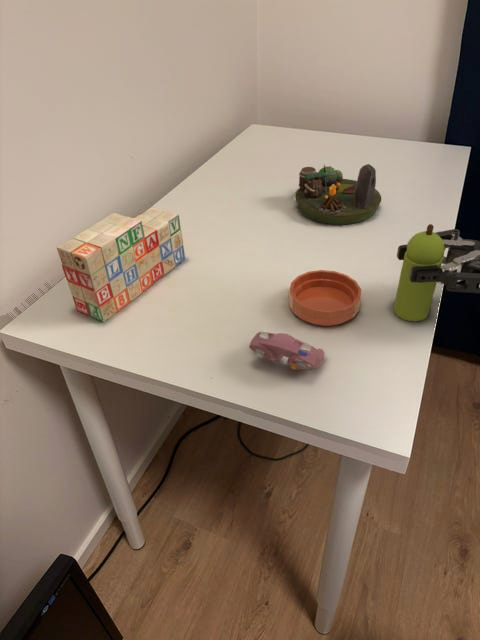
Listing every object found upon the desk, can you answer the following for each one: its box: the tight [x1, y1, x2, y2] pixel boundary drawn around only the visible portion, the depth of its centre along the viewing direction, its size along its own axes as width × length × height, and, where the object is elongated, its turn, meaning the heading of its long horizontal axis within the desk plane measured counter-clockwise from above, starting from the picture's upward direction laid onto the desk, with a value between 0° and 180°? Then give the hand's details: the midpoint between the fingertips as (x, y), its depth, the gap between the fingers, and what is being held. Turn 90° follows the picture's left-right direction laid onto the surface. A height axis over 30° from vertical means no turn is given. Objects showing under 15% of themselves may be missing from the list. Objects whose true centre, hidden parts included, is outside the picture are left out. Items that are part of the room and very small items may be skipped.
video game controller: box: [248, 330, 325, 370], centre depth 66 cm, size 10×5×7 cm, turn 64°
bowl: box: [288, 269, 362, 327], centre depth 77 cm, size 11×11×3 cm
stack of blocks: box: [56, 206, 186, 323], centre depth 81 cm, size 21×6×12 cm, turn 147°
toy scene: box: [294, 163, 382, 225], centre depth 101 cm, size 18×18×11 cm
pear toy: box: [393, 223, 445, 322], centre depth 71 cm, size 5×5×15 cm
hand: (404, 263), depth 70 cm, fingers closed on pear toy, 5 cm apart
